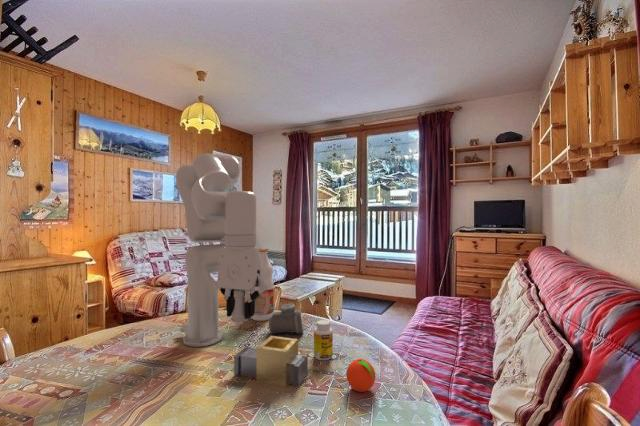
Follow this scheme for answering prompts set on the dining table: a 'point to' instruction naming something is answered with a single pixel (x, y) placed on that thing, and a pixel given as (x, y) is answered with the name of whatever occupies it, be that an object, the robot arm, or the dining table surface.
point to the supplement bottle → (323, 340)
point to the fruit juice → (265, 299)
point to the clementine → (360, 375)
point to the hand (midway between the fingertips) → (240, 315)
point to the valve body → (273, 362)
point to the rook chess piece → (239, 307)
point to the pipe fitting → (286, 320)
